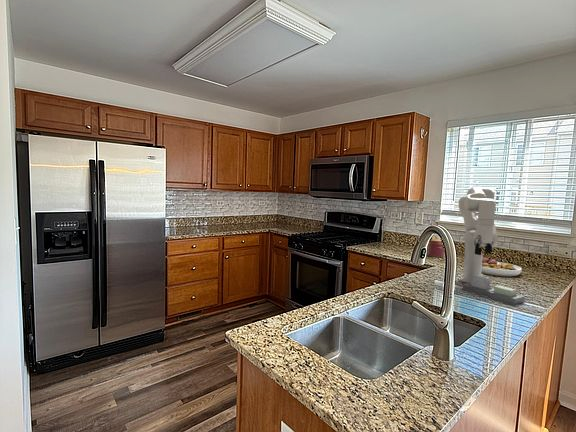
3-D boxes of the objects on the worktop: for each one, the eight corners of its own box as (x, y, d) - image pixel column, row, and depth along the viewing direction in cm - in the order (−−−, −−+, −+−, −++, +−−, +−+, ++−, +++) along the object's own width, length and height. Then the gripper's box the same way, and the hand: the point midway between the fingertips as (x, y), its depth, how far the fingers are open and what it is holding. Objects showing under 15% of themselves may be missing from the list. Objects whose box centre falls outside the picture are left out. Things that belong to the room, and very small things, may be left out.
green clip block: (498, 296, 165) (498, 285, 165) (515, 301, 158) (516, 289, 158) (493, 297, 163) (494, 286, 162) (510, 302, 156) (511, 290, 155)
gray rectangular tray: (472, 287, 179) (472, 282, 179) (524, 302, 157) (524, 296, 156) (462, 289, 175) (462, 284, 174) (514, 305, 152) (515, 298, 152)
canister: (435, 258, 262) (437, 237, 261) (424, 255, 274) (425, 235, 273) (447, 257, 267) (448, 236, 265) (435, 254, 279) (436, 234, 278)
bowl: (532, 278, 205) (533, 266, 205) (486, 277, 205) (487, 265, 205) (501, 267, 235) (502, 257, 235) (461, 266, 235) (462, 256, 235)
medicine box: (489, 293, 169) (491, 278, 168) (485, 295, 167) (486, 279, 166) (475, 289, 176) (476, 274, 175) (470, 290, 173) (471, 275, 173)
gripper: (487, 221, 176) (484, 251, 177) (469, 222, 167) (466, 253, 169) (501, 222, 169) (499, 253, 171) (483, 223, 161) (481, 256, 162)
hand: (483, 253), depth 170 cm, fingers open, 9 cm apart
